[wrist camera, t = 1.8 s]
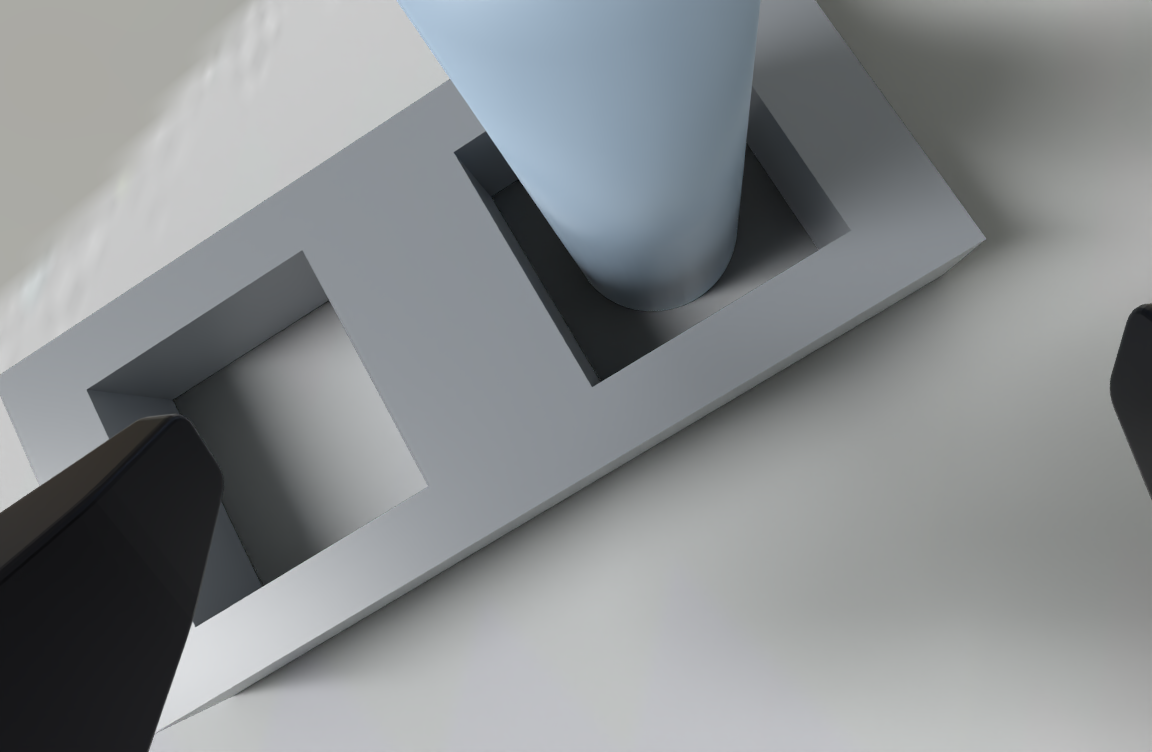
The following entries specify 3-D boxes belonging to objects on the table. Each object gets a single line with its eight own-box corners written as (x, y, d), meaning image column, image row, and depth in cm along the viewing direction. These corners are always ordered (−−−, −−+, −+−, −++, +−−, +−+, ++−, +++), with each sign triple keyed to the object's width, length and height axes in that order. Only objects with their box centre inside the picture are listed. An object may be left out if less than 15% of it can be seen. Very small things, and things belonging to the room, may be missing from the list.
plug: (699, 335, 19) (674, 112, 7) (548, 277, 20) (289, -14, 8) (762, 181, 19) (845, -299, 7) (609, 130, 20) (449, -383, 8)
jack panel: (733, -26, 20) (736, -110, 17) (943, 274, 18) (986, 238, 16) (89, 390, 22) (-7, 379, 19) (231, 696, 20) (148, 736, 17)
